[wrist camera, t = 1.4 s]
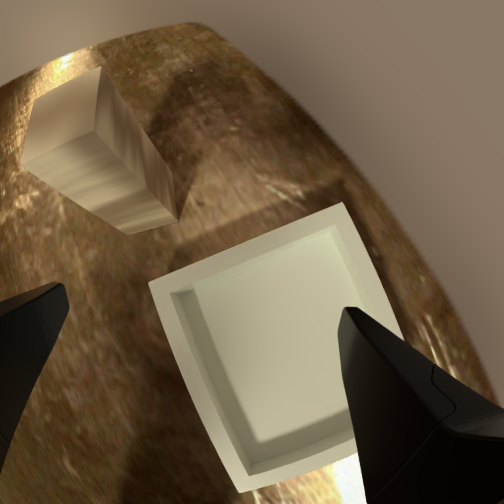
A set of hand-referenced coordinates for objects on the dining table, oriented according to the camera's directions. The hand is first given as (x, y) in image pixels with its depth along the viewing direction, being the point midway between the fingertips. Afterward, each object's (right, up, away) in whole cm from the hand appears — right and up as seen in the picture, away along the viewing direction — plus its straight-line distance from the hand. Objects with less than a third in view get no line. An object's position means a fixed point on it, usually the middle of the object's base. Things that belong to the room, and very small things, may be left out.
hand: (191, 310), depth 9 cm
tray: (+5, -6, +12) cm, 14 cm away
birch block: (-7, +6, +15) cm, 18 cm away
